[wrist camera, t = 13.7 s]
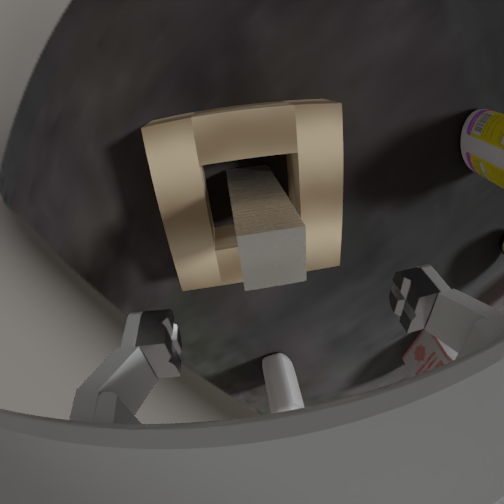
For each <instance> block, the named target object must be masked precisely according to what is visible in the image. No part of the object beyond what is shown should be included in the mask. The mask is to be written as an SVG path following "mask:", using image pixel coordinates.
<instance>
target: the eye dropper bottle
mask: <svg viewBox="0 0 504 504" xmlns="http://www.w3.org/2000/svg"><path fill="white" fill-rule="evenodd" d="M262 368H263V373H264V379H265V384H266V389H267V394H268V400H269V405H270V410H271V414H272V413H278V412H284V411H289V410H294V409H299V408H304V404H303V400H302V396H301V392H300V389H299V385H298V381H297V378H296V374H295V370H294V367H293V364H292V362H291V360H290V359H289V358H288V357H287V356H286V355H284V354H282V353H275V354H272V355H269V356H267V357H265V358H263V360H262Z"/></svg>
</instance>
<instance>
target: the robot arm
mask: <svg viewBox="0 0 504 504" xmlns="http://www.w3.org/2000/svg"><path fill="white" fill-rule="evenodd" d="M393 282H394V283H395V285H394V286H393V287H392V289H391V290H390V295H389V300H390V305H391V308H392V310H393V312H394V313H395V314H397V315H399V316H400V323H401V325H402V326H403V328H404V330H405V331H406V333H410V332H414V331H418V330H421V329H425V330H426V331H427V332H429V333H430V334H432V335H433V336H435V337H436V338H437V339H439V340H440V341H442V342H443V343H444V344H446V345H447V346H449V347H450V348H452V349H453V350H454V351H456V352H457V353H458V355H457V357H456V358H455V360H454V361H451V362H449V363H447V364H444V365H442V366H439V367H437V368H434V369H432V370H429V371H427V372H424V373H422V374H419V375H416V376H414V377H411V378H408V379H405V380H402V381H399V382H396V383H394V384H390V385H387V386H384V387H381V388H378V389H375V390H371V391H368V392H365V393H361V394H358V395H354V396H350V397H347V398H343V399H339V400H335V401H331V402H327V403H322V404H318V405H314V406H309V407H304V408H299V409H294V410H289V411H284V412H278V413H272V414H266V415H259V416H253V417H245V418H237V419H228V420H220V421H208V422H194V423H175V424H141V423H140V422H139V420H138V419H137V418H136V417H135V416H134V415H135V414H136V412H137V411H138V409H139V408H140V406H141V405H142V403H143V401H144V400H145V399H146V397H147V396H148V394H149V393H150V391H151V389H152V388H153V386H154V385H155V383H156V382H157V380H158V378H169V377H178V376H180V375H181V374H180V373H181V360H180V357H179V354H180V352H181V351H182V342H181V335H180V331H179V328H178V326H177V325H176V324H174V315H173V312H172V310H170V309H165V310H154V311H143V312H134V313H130V314H129V315H128V317H127V321H126V326H125V330H124V334H123V338H122V342H121V347H120V348H116V349H115V350H114V351H113V352H112V353H111V354H110V356H108V358H107V359H106V360H105V361H104V362H103V363H102V364H101V365H100V366H99V367H98V368H97V369H96V370H95V371H94V372H93V373H92V375H90V376H89V377H88V378H87V380H86V381H85V382H84V383H83V384H82V385H81V386H80V387H79V388H78V389H77V390H76V394H75V398H74V402H73V407H72V411H71V415H70V420H63V419H55V418H48V417H41V416H35V415H29V414H23V413H18V412H13V411H8V410H4V409H0V504H504V316H503V315H502V313H501V312H500V311H499V310H497V309H495V308H493V307H491V306H489V305H487V304H485V303H483V302H481V301H479V300H477V299H475V298H473V297H471V296H469V295H466V294H464V293H462V292H460V291H458V290H456V289H451V288H450V287H449V286H448V285H447V284H446V282H445V281H444V280H443V279H442V278H441V277H440V275H439V274H438V273H437V272H436V271H435V270H434V269H433V267H432V266H430V265H424V266H419V267H416V268H411V269H407V270H403V271H398V272H396V273H395V274H394V277H393Z"/></svg>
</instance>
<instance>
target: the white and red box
mask: <svg viewBox="0 0 504 504" xmlns="http://www.w3.org/2000/svg"><path fill="white" fill-rule="evenodd" d="M457 355H458V353H457V352H456V351H454V350H453V349H452V348H450V347H449V346H447V345H446V344H444V343H443V342H442V341H440V340H439V339H437V338H436V337H435V336H433V335H432V334H430V333H429V332H427V331H426V330H425V329H422V331H421V332H420V334H419V335H418V336H417V338H416V339H415V341H414V342H413V343H412V345H411V346H410V347H409V349H408V350H407V351H406V353H405V354H404V355H403V356H402V359H403V361H404V363H405V365H406V366H407V368H408V370H409V372H410V374H411V376H412V377H414V376H416V375H419V374H422V373H424V372H427V371H429V370H432V369H434V368H437V367H439V366H442V365H444V364H447V363H449V362H451V361H454V360H455V358H456V357H457Z"/></svg>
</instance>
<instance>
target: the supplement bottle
mask: <svg viewBox="0 0 504 504" xmlns="http://www.w3.org/2000/svg"><path fill="white" fill-rule="evenodd" d="M460 145H461V153H462V157H463V159H464V161H465V163H466V165H467V166H468V167H469V168H470V169H471V170H472V171H474V172H475V173H477V174H479V175H481V176H482V177H484V178H486V179H488V180H490V181H491V182H493V183H495V184H497V185H498V186H500V187H502V188H503V189H504V115H503V114H500V113H497V112H494V111H490V110H486V109H479V110H476V111H474V112H472V113H471V114H470V115H469V116H468V118H467V119H466V121H465V123H464V125H463V128H462V132H461V141H460Z"/></svg>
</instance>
